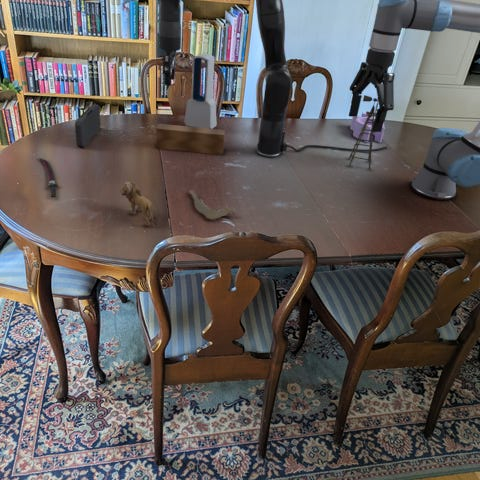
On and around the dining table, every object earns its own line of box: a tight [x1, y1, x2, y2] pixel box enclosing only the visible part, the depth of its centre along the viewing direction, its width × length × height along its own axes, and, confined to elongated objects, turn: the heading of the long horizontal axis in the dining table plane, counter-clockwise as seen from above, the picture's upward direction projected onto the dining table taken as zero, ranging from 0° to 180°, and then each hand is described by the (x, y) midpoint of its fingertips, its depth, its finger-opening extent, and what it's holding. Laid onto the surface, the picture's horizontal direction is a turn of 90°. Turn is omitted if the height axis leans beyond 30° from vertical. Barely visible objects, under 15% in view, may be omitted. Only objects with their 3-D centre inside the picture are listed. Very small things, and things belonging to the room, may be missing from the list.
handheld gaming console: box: [74, 103, 101, 148], centre depth 180 cm, size 23×3×10 cm, turn 178°
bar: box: [156, 123, 226, 156], centre depth 180 cm, size 26×6×8 cm, turn 88°
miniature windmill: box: [348, 94, 379, 170], centre depth 177 cm, size 9×8×30 cm
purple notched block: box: [349, 112, 386, 143], centre depth 214 cm, size 20×12×7 cm, turn 11°
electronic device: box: [183, 53, 218, 129], centre depth 195 cm, size 12×8×30 cm, turn 71°
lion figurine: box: [119, 181, 159, 227], centre depth 134 cm, size 15×5×9 cm, turn 50°
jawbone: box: [188, 189, 239, 221], centre depth 143 cm, size 9×20×2 cm, turn 50°
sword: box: [40, 158, 59, 198], centre depth 151 cm, size 31×3×1 cm, turn 26°
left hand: (169, 82), depth 169 cm, fingers open, 8 cm apart
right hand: (364, 123), depth 142 cm, fingers open, 13 cm apart
